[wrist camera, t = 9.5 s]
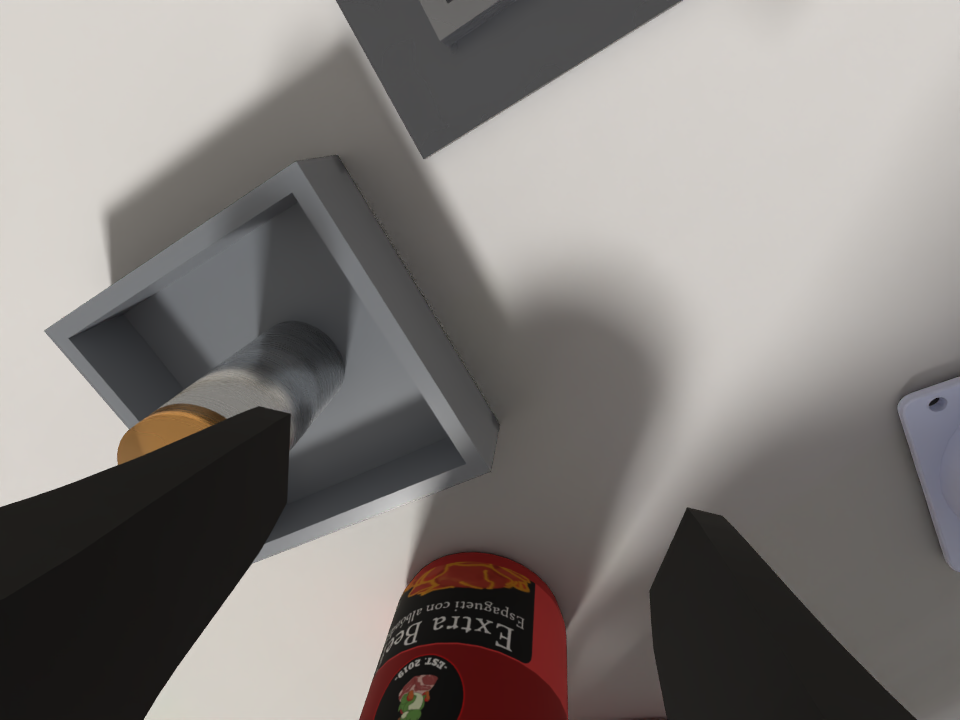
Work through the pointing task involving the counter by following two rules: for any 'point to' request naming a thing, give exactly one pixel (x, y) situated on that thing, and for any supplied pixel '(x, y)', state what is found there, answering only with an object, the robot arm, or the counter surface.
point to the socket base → (481, 53)
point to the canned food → (473, 646)
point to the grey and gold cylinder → (249, 388)
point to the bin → (312, 300)
